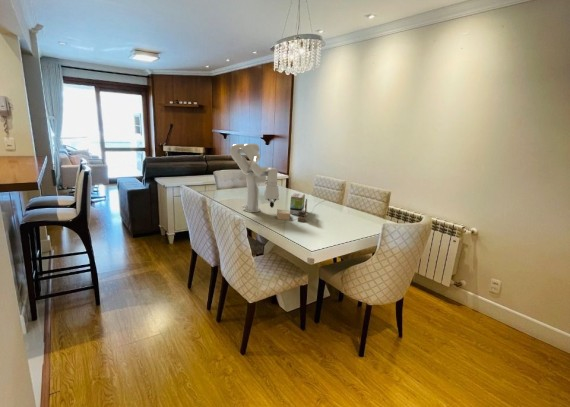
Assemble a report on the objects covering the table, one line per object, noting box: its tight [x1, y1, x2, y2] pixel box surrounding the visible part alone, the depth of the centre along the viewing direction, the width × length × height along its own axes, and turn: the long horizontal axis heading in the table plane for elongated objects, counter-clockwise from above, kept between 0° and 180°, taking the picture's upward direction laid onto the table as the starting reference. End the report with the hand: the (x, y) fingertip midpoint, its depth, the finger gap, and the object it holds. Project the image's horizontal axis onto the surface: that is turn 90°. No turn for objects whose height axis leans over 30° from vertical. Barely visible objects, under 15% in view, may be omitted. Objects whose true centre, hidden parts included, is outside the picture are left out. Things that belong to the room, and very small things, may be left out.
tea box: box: [289, 192, 306, 216], centre depth 257 cm, size 15×10×15 cm, turn 168°
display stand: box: [297, 198, 308, 223], centre depth 240 cm, size 6×19×14 cm, turn 175°
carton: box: [276, 208, 291, 220], centre depth 242 cm, size 9×12×5 cm
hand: (271, 207), depth 241 cm, fingers closed
